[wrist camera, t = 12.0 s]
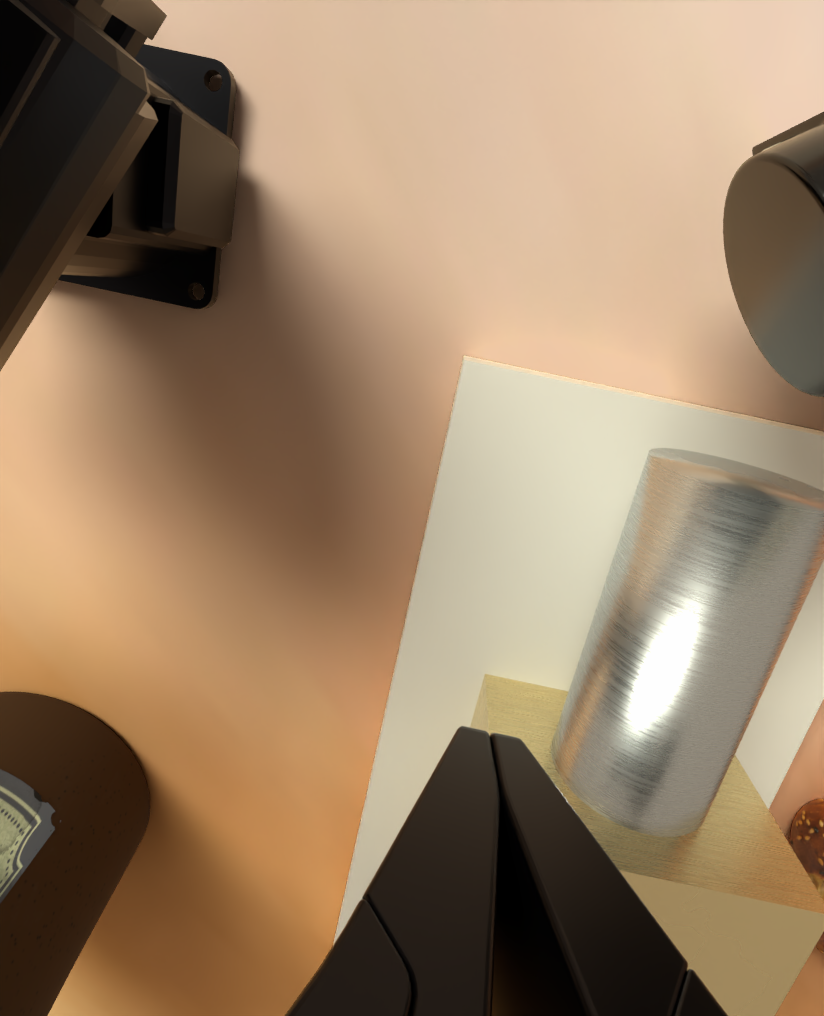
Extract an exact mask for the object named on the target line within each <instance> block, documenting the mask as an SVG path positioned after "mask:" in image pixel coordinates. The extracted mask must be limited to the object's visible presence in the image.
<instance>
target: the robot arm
mask: <svg viewBox="0 0 824 1016" xmlns="http://www.w3.org/2000/svg"><path fill="white" fill-rule="evenodd" d="M166 16H167V15H166V14H165V13H164V12H163V11H162V10H161V9H160V8H159V7H158V6H157V5H156V4H155V3H154V2H152V1H151V0H0V371H1V369H2V368H3V366H4V365H5V363H6V361H7V360H8V358H9V357H10V355H11V353H12V352H13V350H14V349H15V347H16V346H17V344H18V342H19V341H20V339H21V338H22V336H23V334H24V333H25V331H26V330H27V328H28V327H29V325H30V323H31V322H32V320H33V319H34V317H35V315H36V314H37V312H38V311H39V309H40V307H41V306H42V304H43V303H44V301H45V300H46V298H47V296H48V295H49V293H50V292H51V290H52V288H53V287H54V285H55V284H56V282H57V281H58V280H62V281H67V282H71V283H76V284H81V285H86V286H90V287H95V288H100V289H104V290H109V291H114V292H119V293H123V294H128V295H133V296H137V297H142V298H147V299H152V300H156V301H161V302H166V303H170V304H175V305H180V306H185V307H189V308H194V309H205V308H208V307H210V306H212V305H213V304H214V302H215V301H216V298H217V293H218V282H219V271H220V260H221V249H222V248H224V247H225V246H226V245H227V244H228V243H230V242H231V236H232V225H233V215H234V204H235V194H236V183H237V173H238V162H239V149H238V148H237V146H236V145H235V143H234V142H233V140H232V128H233V117H234V106H235V95H236V82H235V79H234V76H233V74H232V73H231V71H230V70H229V69H228V68H227V67H226V66H225V65H224V64H223V63H222V62H220V61H218V60H215V59H211V58H206V57H202V56H197V55H192V54H188V53H183V52H178V51H173V50H169V49H164V48H159V47H154V46H150V45H145V44H144V42H145V40H146V39H147V37H148V38H150V39H151V40H152V39H153V38H154V36H155V35H156V33H157V31H158V30H159V28H160V26H161V25H162V23H163V21H164V20H165V18H166ZM214 75H221V77H222V86H221V88H220V89H219V90H218V91H213V92H212V91H211V90H210V86H209V82H210V79H211V78H212V77H213V76H214ZM197 283H199V284H201V285H202V287H203V288H204V293H205V294H204V296H203V298H202V299H201V300H199V299H197V298H196V297H195V296H194V293H193V288H194V286H195V285H196V284H197ZM687 968H688V962H687V961H686V959H685V958H684V957H683V955H682V954H681V953H680V951H679V950H678V949H677V947H676V946H675V945H674V943H673V942H672V941H671V939H670V938H669V937H668V935H667V934H666V933H665V931H664V930H663V929H662V927H661V926H660V925H659V923H658V922H657V920H656V919H655V918H654V916H653V915H652V914H651V912H650V911H649V910H648V908H647V907H646V906H645V904H644V903H643V902H642V900H641V899H640V898H639V896H638V895H637V894H636V892H635V891H634V890H633V888H632V887H631V886H630V884H629V883H628V882H627V880H626V879H625V878H624V876H623V875H622V874H621V872H620V871H619V870H618V868H617V867H616V865H615V864H614V863H613V861H612V860H611V859H610V857H609V856H608V855H607V853H606V852H605V851H604V849H603V848H602V847H601V845H600V844H599V843H598V841H597V840H596V839H595V837H594V836H593V835H592V833H591V832H590V831H589V829H588V828H587V827H586V825H585V824H584V823H583V821H582V820H581V819H580V817H579V816H578V815H577V813H576V812H575V811H574V809H573V808H572V806H571V805H570V804H569V802H568V801H567V800H566V798H565V797H564V796H563V794H562V793H561V792H560V790H559V789H558V788H557V786H556V785H555V784H554V782H553V781H552V780H551V778H550V777H549V776H548V774H547V773H546V772H545V770H544V769H543V768H542V766H541V765H540V764H539V762H538V761H537V760H536V758H535V757H534V756H533V754H532V753H531V752H530V750H529V749H528V747H527V746H526V745H525V743H524V742H523V741H522V740H521V739H520V738H517V737H513V736H508V735H504V734H499V733H492V734H491V735H490V736H489V733H488V732H486V731H484V730H480V729H475V728H471V727H466V726H460V727H459V728H458V729H457V731H456V732H455V734H454V736H453V738H452V739H451V741H450V743H449V745H448V746H447V748H446V750H445V752H444V753H443V755H442V757H441V759H440V761H439V762H438V764H437V766H436V768H435V769H434V771H433V773H432V775H431V776H430V778H429V780H428V782H427V783H426V785H425V787H424V789H423V791H422V792H421V794H420V796H419V798H418V799H417V801H416V803H415V805H414V806H413V808H412V810H411V812H410V813H409V815H408V817H407V819H406V821H405V822H404V824H403V826H402V828H401V829H400V831H399V833H398V835H397V836H396V838H395V840H394V842H393V844H392V845H391V847H390V849H389V851H388V852H387V854H386V856H385V858H384V859H383V861H382V863H381V865H380V866H379V868H378V870H377V872H376V874H375V875H374V877H373V879H372V881H371V882H370V884H369V886H368V888H367V889H366V891H365V893H364V895H363V897H362V900H360V901H359V903H358V904H357V906H356V908H355V910H354V911H353V913H352V915H351V917H350V918H349V920H348V922H347V924H346V925H345V927H344V929H343V930H342V932H341V934H340V935H339V937H338V938H337V940H336V942H335V943H334V945H333V947H332V948H331V950H330V951H329V953H328V955H327V956H326V958H325V959H324V961H323V963H322V964H321V966H320V967H319V969H318V970H317V972H316V973H315V974H314V976H313V977H312V979H311V980H310V981H309V983H308V984H307V986H306V987H305V988H304V990H303V991H302V993H301V994H300V995H299V997H298V998H297V1000H296V1001H295V1002H294V1004H293V1005H292V1007H291V1008H290V1009H289V1011H288V1012H287V1013H286V1015H285V1016H728V1015H727V1014H726V1012H725V1011H724V1010H723V1008H722V1007H721V1006H720V1005H719V1003H718V1002H717V1001H716V999H715V998H714V996H713V995H712V994H711V992H710V991H709V990H708V988H707V987H706V986H705V984H704V983H703V982H702V980H701V979H700V978H699V976H698V975H697V974H696V972H695V971H694V970H692V969H688V970H687Z"/></svg>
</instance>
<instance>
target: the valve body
mask: <svg viewBox="0 0 824 1016" xmlns="http://www.w3.org/2000/svg"><path fill="white" fill-rule="evenodd" d="M823 561H824V491H822V490H820V489H818V488H815V487H813V486H811V485H808V484H806V483H803V482H800V481H798V480H795V479H792V478H789V477H787V476H784V475H781V474H778V473H775V472H771V471H768V470H765V469H762V468H758V467H755V466H752V465H748V464H745V463H741V462H737V461H733V460H729V459H725V458H721V457H717V456H712V455H708V454H703V453H698V452H692V451H686V450H680V449H671V448H654V449H651V450H649V453H648V456H647V459H646V462H645V465H644V468H643V471H642V474H641V477H640V480H639V483H638V486H637V489H636V492H635V495H634V498H633V501H632V504H631V507H630V510H629V512H628V515H627V518H626V521H625V524H624V527H623V530H622V533H621V536H620V539H619V542H618V545H617V548H616V551H615V554H614V557H613V560H612V563H611V566H610V569H609V572H608V575H607V578H606V581H605V584H604V587H603V590H602V593H601V596H600V599H599V602H598V605H597V608H596V611H595V614H594V617H593V620H592V623H591V626H590V629H589V632H588V635H587V638H586V641H585V644H584V647H583V650H582V653H581V656H580V659H579V662H578V665H577V668H576V671H575V674H574V677H573V680H572V683H571V686H570V689H569V691H564V690H559V689H555V688H550V687H545V686H540V685H536V684H531V683H526V682H522V681H517V680H512V679H507V678H503V677H498V676H493V675H489V674H485V675H484V679H483V682H482V686H481V690H480V693H479V697H478V700H477V704H476V707H475V711H474V715H473V718H472V722H471V725H470V727H471V728H475V729H480V730H484V731H486V732H488V733H489V736H490V735H491V734H492V733H499V734H504V735H508V736H513V737H517V738H520V739H521V740H522V741H523V742H524V743H525V745H526V746H527V747H528V749H529V750H530V752H531V753H532V754H533V756H534V757H535V758H536V760H537V761H538V762H539V764H540V765H541V766H542V768H543V769H544V770H545V772H546V773H547V774H548V776H549V777H550V778H551V780H552V781H553V782H554V784H555V785H556V786H557V788H558V789H559V790H560V792H561V793H562V794H563V796H564V797H565V798H566V800H567V801H568V802H569V804H570V805H571V806H572V808H573V809H574V811H575V812H576V813H577V815H578V816H579V817H580V819H581V820H582V821H583V823H584V824H585V825H586V827H587V828H588V829H589V831H590V832H591V833H592V835H593V836H594V837H595V839H596V840H597V841H598V843H599V844H600V845H601V847H602V848H603V849H604V851H605V852H606V853H607V855H608V856H609V857H610V859H611V860H612V861H613V863H614V864H615V865H616V867H617V868H618V870H619V871H620V872H621V874H622V875H623V876H624V878H625V879H626V880H627V882H628V883H629V884H630V886H631V887H632V888H633V890H634V891H635V892H636V894H637V895H638V896H639V898H640V899H641V900H642V902H643V903H644V904H645V906H646V907H647V908H648V910H649V911H650V912H651V914H652V915H653V916H654V918H655V919H656V920H657V922H658V923H659V925H660V926H661V927H662V929H663V930H664V931H665V933H666V934H667V935H668V937H669V938H670V939H671V941H672V942H673V943H674V945H675V946H676V947H677V949H678V950H679V951H680V953H681V954H682V955H683V957H684V958H685V959H686V961H687V962H688V968H687V970H688V969H692V970H694V971H695V972H696V974H697V975H698V976H699V978H700V979H701V980H702V982H703V983H704V984H705V986H706V987H707V988H708V990H709V991H710V992H711V994H712V995H713V996H714V998H715V999H716V1001H717V1002H718V1003H719V1005H720V1006H721V1007H722V1008H723V1010H724V1011H725V1012H726V1014H727V1015H728V1016H775V1014H776V1012H777V1011H778V1009H779V1007H780V1005H781V1004H782V1002H783V1000H784V999H785V997H786V995H787V993H788V992H789V990H790V988H791V987H792V985H793V983H794V981H795V980H796V978H797V976H798V975H799V973H800V971H801V969H802V968H803V966H804V964H805V963H806V961H807V959H808V957H809V956H810V954H811V952H812V951H813V949H814V947H815V945H816V944H817V942H818V940H819V939H820V937H821V935H822V933H823V932H824V900H823V899H822V897H821V895H820V894H819V892H818V890H817V889H816V887H815V886H814V884H813V882H812V881H811V879H810V877H809V876H808V874H807V872H806V871H805V869H804V867H803V866H802V864H801V862H800V861H799V859H798V857H797V856H796V854H795V853H794V851H793V849H792V848H791V846H790V844H789V843H788V841H787V839H786V838H785V836H784V834H783V833H782V831H781V829H780V828H779V826H778V824H777V823H776V821H775V820H774V818H773V816H772V815H771V813H770V811H769V810H768V808H767V806H766V805H765V803H764V801H763V800H762V798H761V796H760V795H759V793H758V792H757V790H756V788H755V787H754V785H753V783H752V782H751V780H750V778H749V777H748V775H747V773H746V772H745V770H744V768H743V767H742V765H741V763H740V762H739V760H738V759H737V757H736V755H735V753H736V751H737V749H738V746H739V744H740V742H741V740H742V738H743V735H744V733H745V731H746V729H747V727H748V724H749V722H750V720H751V718H752V716H753V714H754V711H755V709H756V707H757V705H758V703H759V700H760V698H761V696H762V694H763V692H764V690H765V687H766V685H767V683H768V681H769V679H770V676H771V674H772V672H773V670H774V668H775V665H776V663H777V661H778V659H779V657H780V655H781V652H782V650H783V648H784V646H785V644H786V641H787V639H788V637H789V635H790V633H791V630H792V628H793V626H794V624H795V622H796V620H797V617H798V615H799V613H800V611H801V609H802V606H803V604H804V602H805V600H806V598H807V595H808V593H809V591H810V589H811V587H812V585H813V582H814V580H815V578H816V576H817V574H818V571H819V569H820V567H821V565H822V563H823Z"/></svg>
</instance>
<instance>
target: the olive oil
mask: <svg viewBox="0 0 824 1016" xmlns="http://www.w3.org/2000/svg"><path fill="white" fill-rule="evenodd" d="M149 815H150V796H149V790H148V786H147V782H146V779H145V777H144V774H143V772H142V770H141V768H140V766H139V764H138V762H137V760H136V759H135V757H134V755H133V754H132V753H131V751H130V750H129V748H128V747H127V746H126V745H125V744H124V742H123V741H122V740H121V739H120V738H119V737H118V736H117V735H116V734H115V733H114V732H113V731H112V730H111V729H109V728H108V727H107V726H106V725H105V724H103V723H102V722H101V721H99V720H98V719H96V718H95V717H93V716H92V715H90V714H89V713H87V712H85V711H83V710H81V709H80V708H78V707H75V706H73V705H71V704H69V703H66V702H64V701H61V700H58V699H55V698H52V697H48V696H44V695H39V694H33V693H25V692H0V1016H47V1015H48V1013H49V1011H50V1010H51V1008H52V1006H53V1004H54V1002H55V1000H56V998H57V996H58V994H59V992H60V990H61V988H62V987H63V985H64V983H65V981H66V979H67V977H68V975H69V973H70V971H71V969H72V967H73V966H74V964H75V962H76V960H77V958H78V956H79V954H80V952H81V951H82V949H83V947H84V945H85V943H86V941H87V939H88V938H89V936H90V934H91V932H92V930H93V928H94V927H95V925H96V923H97V921H98V919H99V917H100V916H101V914H102V912H103V910H104V908H105V906H106V905H107V903H108V901H109V899H110V897H111V895H112V893H113V892H114V890H115V888H116V886H117V884H118V882H119V881H120V879H121V877H122V875H123V873H124V871H125V870H126V868H127V866H128V864H129V862H130V860H131V859H132V857H133V855H134V853H135V851H136V849H137V847H138V845H139V844H140V842H141V840H142V837H143V835H144V833H145V830H146V827H147V824H148V821H149Z"/></svg>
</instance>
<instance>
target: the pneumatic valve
mask: <svg viewBox="0 0 824 1016" xmlns="http://www.w3.org/2000/svg"><path fill="white" fill-rule="evenodd" d="M752 152H753V156H752V157H751V158H749V159H748V160H746V161H745V162H744V163H743V164H742V165H741V166H740V168H739V169H738V170H737V172H736V173H735V175H734V177H733V179H732V181H731V184H730V186H729V189H728V192H727V196H726V201H725V207H724V218H723V237H724V249H725V257H726V263H727V268H728V273H729V277H730V281H731V285H732V289H733V292H734V295H735V298H736V301H737V304H738V307H739V309H740V312H741V314H742V317H743V319H744V321H745V324H746V326H747V328H748V330H749V332H750V334H751V336H752V338H753V339H754V341H755V343H756V345H757V346H758V348H759V349H760V351H761V352H762V354H763V355H764V357H765V358H766V359H767V361H768V362H769V363H770V365H771V366H772V367H773V368H774V369H775V370H776V372H777V373H778V374H779V375H780V376H781V377H783V378H784V379H785V380H786V381H787V382H788V383H789V384H791V385H792V386H794V387H795V388H797V389H799V390H800V391H802V392H805V393H807V394H810V395H813V396H819V397H824V112H822V113H820V114H818V115H816V116H814V117H812V118H810V119H808V120H806V121H804V122H802V123H800V124H798V125H796V126H794V127H792V128H790V129H788V130H787V131H785V132H783V133H781V134H779V135H777V136H775V137H773V138H771V139H769V140H767V141H765V142H763V143H761V144H759V145H757V146H755V147H753V150H752Z"/></svg>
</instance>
